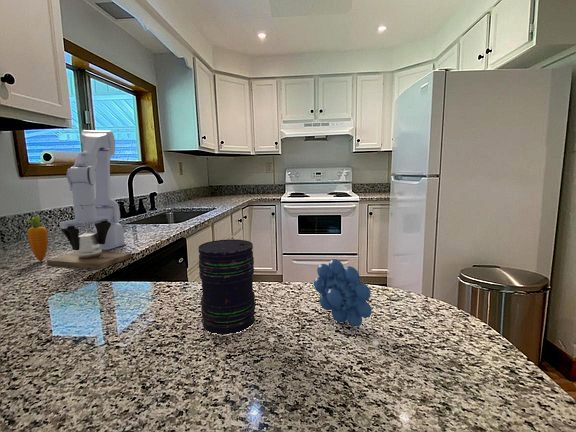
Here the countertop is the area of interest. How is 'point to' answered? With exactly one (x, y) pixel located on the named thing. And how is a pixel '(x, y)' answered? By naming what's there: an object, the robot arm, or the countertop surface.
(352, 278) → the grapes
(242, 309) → the dark blue cylinder
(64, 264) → the lock board
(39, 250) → the carrot
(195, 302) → the countertop surface
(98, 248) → the cap
